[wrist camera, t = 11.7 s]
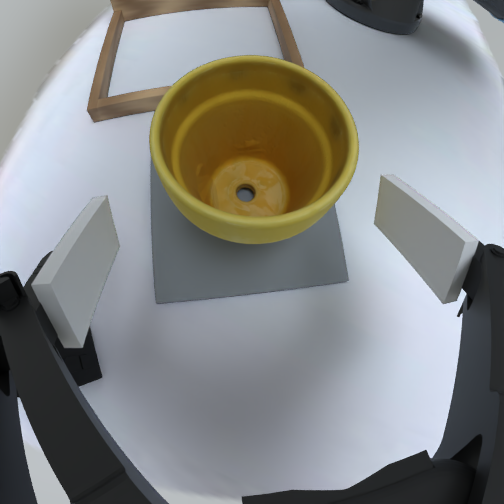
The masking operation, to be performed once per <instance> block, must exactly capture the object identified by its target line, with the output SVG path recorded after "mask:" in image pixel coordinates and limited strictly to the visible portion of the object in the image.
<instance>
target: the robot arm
mask: <svg viewBox="0 0 504 504" xmlns="http://www.w3.org/2000/svg"><path fill="white" fill-rule="evenodd" d="M327 1H328V2H329V3H330V4H331V5H332V6H333V7H334V8H336V9H337V10H339V11H340V12H342V13H343V14H345V15H347V16H349V17H350V18H352V19H354V20H356V21H358V22H361V23H363V24H365V25H368V26H370V27H373V28H376V29H379V30H382V31H385V32H390V33H395V34H410V33H412V32H414V31H415V30H416V28H417V27H418V25H419V23H420V21H421V19H422V10H423V1H424V0H327ZM473 1H475V2H476V3H478V4H479V5H480V6H482V7H483V8H484V9H486V10H487V11H489V13H490V14H491V15H492V16H493V17H494V18H496V19H498V20H499V21H502V22H503V23H504V0H473ZM374 224H375V225H376V226H377V227H378V229H379V230H380V231H381V232H382V233H383V234H384V235H385V236H386V237H387V238H388V239H389V241H390V242H391V243H392V244H393V245H394V246H395V247H396V248H397V250H398V251H399V252H400V253H401V254H402V255H403V256H404V257H405V259H406V260H407V261H408V262H409V263H410V264H411V266H412V267H413V268H414V269H415V270H416V272H417V273H418V274H419V275H420V276H421V277H422V279H423V280H424V281H425V282H426V284H427V285H428V286H429V287H430V288H431V290H432V291H433V292H434V293H435V295H436V296H437V297H438V298H439V300H440V301H441V302H442V304H446V303H450V302H454V301H457V299H458V296H459V294H460V292H461V289H463V290H464V291H465V292H466V293H467V294H466V297H465V299H464V301H463V304H462V306H461V308H460V310H459V312H458V315H457V317H460V314H462V313H463V318H462V330H461V341H460V350H459V358H458V365H457V372H456V378H455V384H454V390H453V395H452V400H451V405H450V410H449V414H448V419H447V423H446V427H445V431H444V435H443V439H442V442H441V444H440V446H439V448H438V450H437V452H436V453H435V455H434V456H433V458H430V457H429V455H428V453H427V450H425V451H422V452H420V453H417V454H415V455H412V456H410V457H407V458H405V459H402V460H400V461H397V462H394V463H391V464H389V465H387V466H385V467H384V468H382V469H381V470H379V471H377V472H376V473H374V474H373V475H371V476H369V477H368V478H366V479H364V480H362V481H361V482H359V483H357V484H356V485H354V486H352V487H350V488H348V489H344V490H288V491H282V492H276V493H269V494H262V495H253V496H244V497H242V503H243V504H504V248H502V247H500V246H498V245H494V244H487V245H485V246H484V245H483V244H482V243H481V242H480V241H479V240H478V239H477V238H476V237H474V236H473V235H472V234H471V233H470V232H469V231H467V230H466V229H465V228H464V227H463V226H461V225H460V224H459V223H458V222H456V221H455V220H454V219H453V218H451V217H450V216H449V215H448V214H446V213H445V212H444V211H443V210H441V209H440V208H439V207H437V206H436V205H435V204H434V203H432V202H431V201H430V200H428V199H427V198H426V197H424V196H423V195H421V194H420V193H419V192H417V191H416V190H415V189H413V188H412V187H410V186H409V185H408V184H406V183H405V182H403V181H402V180H400V179H399V178H398V177H396V176H395V175H381V177H380V185H379V193H378V200H377V207H376V214H375V220H374ZM119 248H120V245H119V241H118V237H117V234H116V230H115V226H114V222H113V218H112V214H111V209H110V205H109V201H108V196H100V197H94V198H92V199H91V201H90V202H89V203H88V204H87V206H86V207H85V208H84V209H83V211H82V212H81V213H80V215H79V216H78V217H77V219H76V220H75V221H74V223H73V224H72V225H71V227H70V228H69V229H68V231H67V232H66V233H65V235H64V236H63V238H62V239H61V240H60V242H59V243H58V245H57V246H56V248H55V249H54V250H53V251H51V252H49V253H48V254H47V255H46V256H45V257H44V258H42V260H41V261H40V263H39V264H38V266H37V268H36V269H35V270H34V272H33V275H31V276H30V278H29V279H28V281H27V282H26V284H25V286H24V287H23V286H22V284H21V282H20V279H19V277H18V275H17V273H16V272H14V271H7V272H4V273H1V274H0V504H37V500H36V497H35V493H34V490H33V486H32V482H31V478H30V474H29V469H28V465H27V460H26V456H25V450H24V445H23V439H22V433H21V426H20V419H19V411H18V401H17V391H18V393H19V396H20V399H21V402H22V404H23V407H24V409H25V412H26V414H27V417H28V419H29V422H30V424H31V426H32V429H33V431H34V433H35V435H36V437H37V440H38V442H39V444H40V446H41V448H42V450H43V452H44V454H45V456H46V458H47V460H48V462H49V464H50V466H51V468H52V469H53V471H54V473H55V475H56V477H57V478H58V480H59V482H60V484H61V485H62V487H63V489H64V490H65V492H66V494H67V495H68V497H69V499H70V503H71V504H169V503H168V502H166V500H164V499H163V497H162V496H161V495H160V494H159V493H158V492H157V491H156V490H155V489H154V488H153V487H152V486H151V485H150V483H149V482H148V481H147V480H146V479H145V478H144V477H143V475H142V474H141V473H140V472H139V471H138V470H137V468H136V467H135V466H134V465H133V464H132V462H131V461H130V460H129V459H128V457H127V456H126V455H125V454H124V452H123V451H122V450H121V448H120V447H119V446H118V445H117V443H116V442H115V441H114V439H113V438H112V437H111V435H110V434H109V432H108V431H107V430H106V428H105V427H104V425H103V424H102V423H101V421H100V420H99V418H98V417H97V415H96V414H95V412H94V411H93V409H92V408H91V406H90V405H89V403H88V402H87V400H86V399H85V397H84V395H83V394H82V392H81V390H80V389H79V387H78V386H77V384H76V382H75V381H74V379H73V377H72V375H71V374H70V372H69V370H68V368H67V367H66V365H65V363H64V361H63V359H62V357H61V356H60V354H59V352H58V350H57V348H56V347H55V345H54V344H55V341H56V339H57V336H58V338H59V339H60V341H61V343H62V345H63V346H64V348H83V345H84V341H85V338H86V335H87V332H88V329H89V326H90V323H91V320H92V317H93V315H94V312H95V309H96V306H97V303H98V301H99V298H100V295H101V292H102V290H103V287H104V285H105V282H106V279H107V277H108V274H109V272H110V269H111V267H112V264H113V262H114V260H115V257H116V255H117V252H118V250H119ZM16 388H17V390H16Z"/></svg>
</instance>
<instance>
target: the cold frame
mask: <svg viewBox="0 0 504 504" xmlns="http://www.w3.org/2000/svg"><path fill="white" fill-rule="evenodd" d="M110 1H111V4H112V7H113V11H114V13H113V16H112V19H111V22H110V24H109V27H108V30H107V34H106V37H105V40H104V43H103V47H102V50H101V53H100V57H99V61H98V64H97V68H96V72H95V76H94V80H93V84H92V88H91V93H90V97H89V102H88V107H87V111H88V113H89V115H90V116H91V118H92V120H93V121H94V122H97V121H102V120H107V119H111V118H116V117H121V116H126V115H131V114H137V113H143V112H149V111H155V110H156V108H157V106H158V104H159V102H160V101H161V99H162V98H163V96H164V95H165V93H166V92H167V91H168V90H169V89H170V88H171V87H172V86H167V87H160V88H154V89H148V90H142V91H137V92H131V93H126V94H121V95H117V96H112V97H108V98H107V95H108V90H109V85H110V80H111V75H112V70H113V65H114V61H115V57H116V52H117V48H118V44H119V40H120V36H121V33H122V29H123V25H124V22H125V21H129V20H133V19H138V18H143V17H148V16H154V15H160V14H166V13H173V12H180V11H189V10H198V9H209V8H224V7H268V9H269V12H270V15H271V18H272V21H273V24H274V27H275V30H276V34H277V37H278V40H279V43H280V46H281V50H282V53H283V56H284V60H285V61H288V62H291V63H294V64H297V65H299V66H301V67H303V68H304V65H303V62H302V59H301V56H300V53H299V51H298V48H297V45H296V42H295V39H294V37H293V34H292V31H291V28H290V26H289V23H288V21H287V18H286V15H285V13H284V10H283V8H282V5H281V3H280V0H110Z"/></svg>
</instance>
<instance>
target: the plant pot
mask: <svg viewBox="0 0 504 504" xmlns="http://www.w3.org/2000/svg"><path fill="white" fill-rule="evenodd" d="M149 143H150V152H151V157H152V161H153V164H154V166H155V169H156V171H157V174H158V176H159V178H160V180H161V182H162V185H163V187H164V188H165V190H166V192H167V194H168V195H169V197H170V198H171V200H172V201H173V203H174V204H175V206H176V207H177V208H178V209H179V211H180V212H181V213H182V214H183V215H184V216H185V217H186V218H187V219H188V220H189V221H191V222H192V223H193V224H194V225H196V226H197V227H199V228H200V229H202V230H203V231H205V232H207V233H209V234H211V235H213V236H216V237H218V238H221V239H224V240H228V241H231V242H236V243H244V244H264V243H272V242H277V241H281V240H284V239H288V238H290V237H293V236H295V235H297V234H299V233H301V232H303V231H305V230H306V229H308V228H309V227H311V226H312V225H313V224H315V223H316V222H317V221H318V220H319V219H320V218H322V217H323V216H324V215H325V214H326V213H327V211H328V210H329V209H330V208H331V207H332V206H333V205H334V204H335V203H336V201H337V200H338V199H339V197H340V196H341V195H342V194H343V192H344V191H345V190H346V188H347V186H348V184H349V183H350V181H351V179H352V177H353V174H354V172H355V169H356V165H357V161H358V153H359V142H358V133H357V129H356V125H355V122H354V120H353V117H352V115H351V113H350V111H349V109H348V108H347V106H346V104H345V103H344V101H343V100H342V99H341V97H340V96H339V95H338V94H337V93H336V91H335V90H334V89H333V88H332V87H331V86H330V85H329V84H328V83H326V82H325V81H324V80H323V79H321V78H320V77H319V76H317V75H316V74H314V73H312V72H311V71H309V70H307V69H305V68H303V67H301V66H299V65H297V64H294V63H291V62H288V61H285V60H282V59H278V58H273V57H268V56H258V55H244V56H233V57H228V58H223V59H219V60H215V61H212V62H209V63H207V64H204V65H202V66H200V67H197V68H196V69H194V70H192V71H190V72H189V73H187V74H186V75H184V76H183V77H182V78H180V79H179V80H178V81H177V82H176V83H174V84H173V85H172V87H171V88H170V89H169V90H168V91H167V92H166V93H165V95H164V96H163V98H162V99H161V101H160V102H159V104H158V106H157V108H156V110H155V113H154V116H153V118H152V122H151V127H150V135H149ZM244 187H246V188H250V189H251V190H252V191H253V193H254V198H253V199H252V200H250V201H248V202H245V201H242V200H240V199H239V198H238V196H237V192H238V190H239V189H241V188H244Z"/></svg>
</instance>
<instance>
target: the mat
mask: <svg viewBox="0 0 504 504" xmlns="http://www.w3.org/2000/svg"><path fill="white" fill-rule="evenodd" d="M237 196H238V198H239V199H240V200H242V201H245V202H248V201H250V200H252V199H253V198H254V193H253V191H252V190H251V189H250V188H246V187H244V188H241V189H239V190H238V192H237ZM151 232H152V254H153V271H154V286H155V298H156V303H157V304H159V303H171V302H182V301H192V300H202V299H212V298H221V297H231V296H240V295H248V294H257V293H265V292H274V291H282V290H289V289H297V288H305V287H312V286H320V285H327V284H334V283H341V282H347V281H349V280H348V273H347V267H346V261H345V256H344V250H343V245H342V239H341V234H340V229H339V224H338V219H337V214H336V209H335V204H334V205H333V206H332V207H331V208H330V209H329V210H328V211H327V213H326V214H325V215H324V216H323V217H322V218H320V219H319V220H318V221H317V222H316V223H315V224H313V225H312V226H311V227H309V228H308V229H306V230H305V231H303V232H301V233H299V234H297V235H295V236H293V237H290V238H288V239H284V240H281V241H277V242H272V243H264V244H244V243H236V242H231V241H228V240H224V239H221V238H218V237H216V236H213V235H211V234H209V233H207V232H205V231H203V230H202V229H200V228H199V227H197V226H196V225H194V224H193V223H192V222H191V221H189V220H188V219H187V218H186V217H185V216H184V215H183V214H182V213H181V212H180V211H179V209H178V208H177V207H176V206H175V204H174V203H173V201H172V200H171V198H170V197H169V195H168V194H167V192H166V190H165V188H164V187H163V185H162V182H161V180H160V178H159V176H158V174H157V171H156V169H155V166H154V164H153V161H152V157H151Z"/></svg>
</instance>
